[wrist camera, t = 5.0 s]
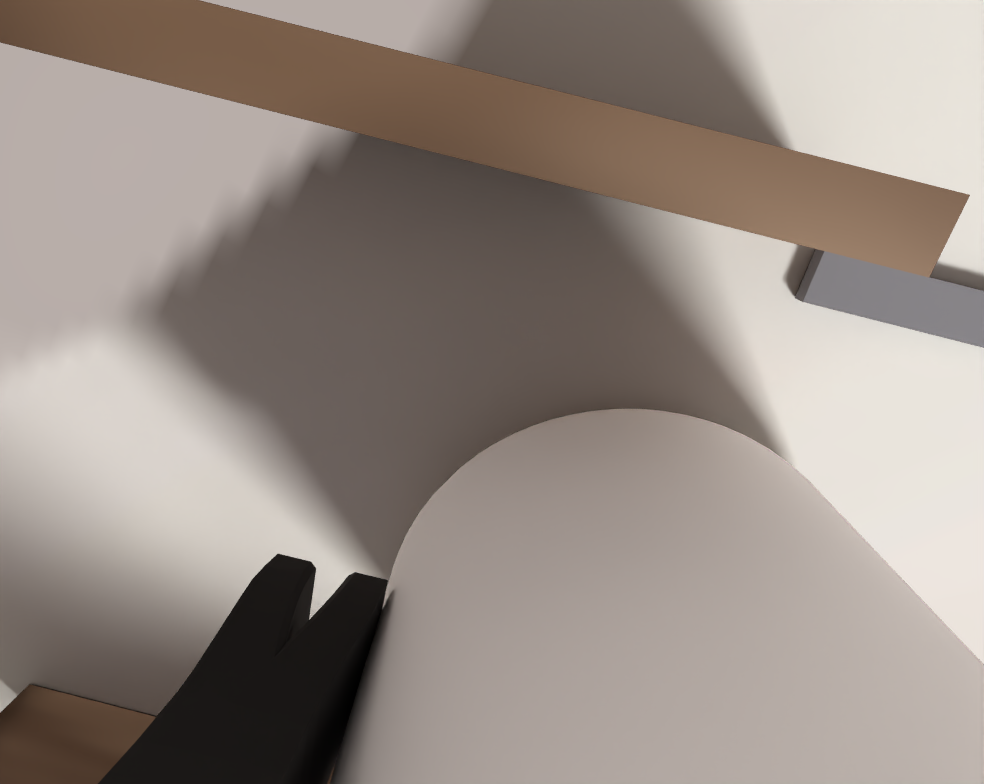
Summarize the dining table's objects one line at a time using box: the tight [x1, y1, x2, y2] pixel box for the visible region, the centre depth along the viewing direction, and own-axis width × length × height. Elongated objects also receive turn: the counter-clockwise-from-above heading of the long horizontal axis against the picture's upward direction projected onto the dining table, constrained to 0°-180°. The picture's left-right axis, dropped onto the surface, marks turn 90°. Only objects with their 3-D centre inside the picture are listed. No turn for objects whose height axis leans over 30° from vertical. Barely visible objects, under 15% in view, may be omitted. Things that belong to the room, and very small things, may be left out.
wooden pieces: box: [0, 0, 970, 784], centre depth 12 cm, size 19×16×6 cm
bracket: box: [795, 249, 984, 348], centre depth 14 cm, size 17×10×1 cm, turn 167°
